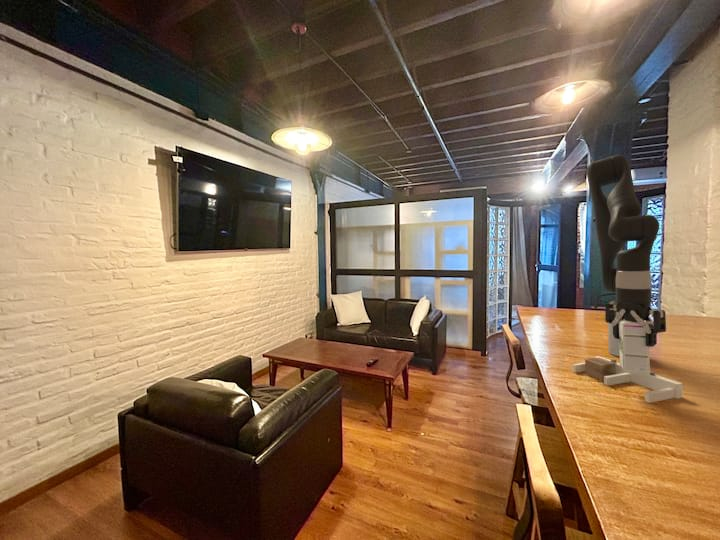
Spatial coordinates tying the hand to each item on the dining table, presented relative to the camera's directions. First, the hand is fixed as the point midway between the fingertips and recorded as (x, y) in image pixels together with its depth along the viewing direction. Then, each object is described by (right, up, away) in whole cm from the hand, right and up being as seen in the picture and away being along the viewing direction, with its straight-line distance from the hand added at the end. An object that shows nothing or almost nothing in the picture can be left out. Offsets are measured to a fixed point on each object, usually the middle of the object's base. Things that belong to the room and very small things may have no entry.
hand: (633, 342), depth 85 cm
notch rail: (+2, -14, +6) cm, 15 cm away
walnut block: (0, -14, +11) cm, 18 cm away
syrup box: (0, -8, 0) cm, 8 cm away
